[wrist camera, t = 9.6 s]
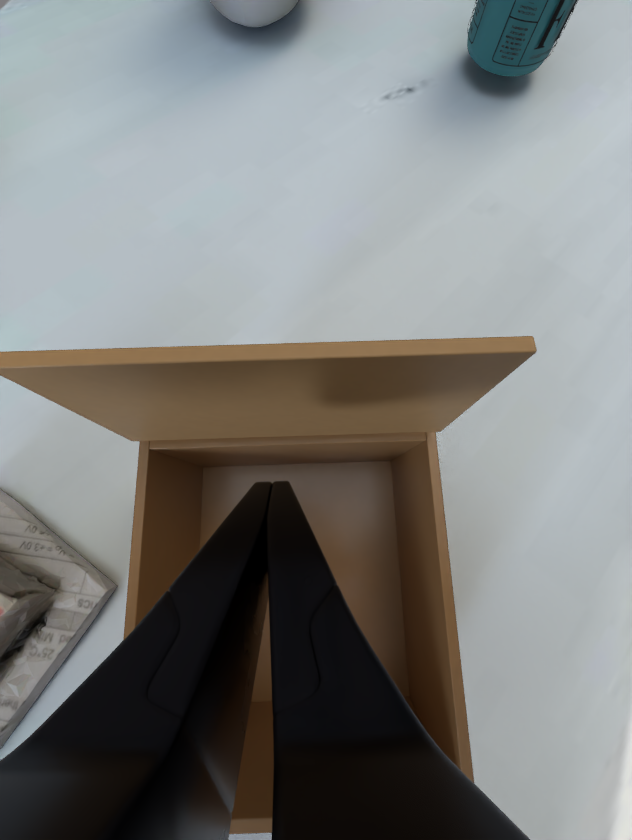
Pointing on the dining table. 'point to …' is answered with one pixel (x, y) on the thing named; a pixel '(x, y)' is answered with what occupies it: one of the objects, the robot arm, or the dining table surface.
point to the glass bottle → (254, 10)
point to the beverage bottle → (516, 33)
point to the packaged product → (39, 607)
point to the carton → (346, 556)
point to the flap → (271, 385)
